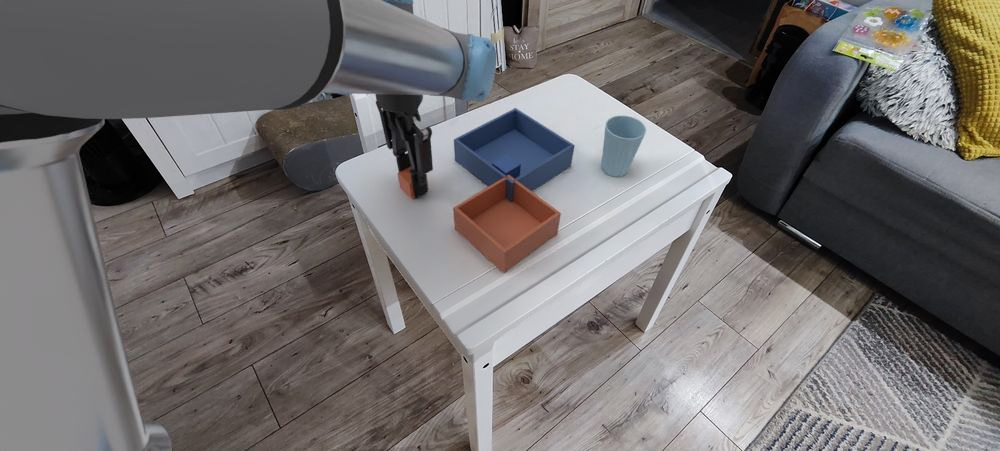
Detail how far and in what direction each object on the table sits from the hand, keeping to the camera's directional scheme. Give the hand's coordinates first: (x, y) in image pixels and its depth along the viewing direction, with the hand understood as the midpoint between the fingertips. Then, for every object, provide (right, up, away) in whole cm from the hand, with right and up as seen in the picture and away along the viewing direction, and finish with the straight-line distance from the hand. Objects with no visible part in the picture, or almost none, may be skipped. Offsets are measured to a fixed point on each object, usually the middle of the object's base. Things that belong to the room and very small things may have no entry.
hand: (414, 187), depth 89 cm
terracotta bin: (+18, -8, -7) cm, 21 cm away
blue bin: (+20, +6, +6) cm, 21 cm away
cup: (+41, +4, +6) cm, 41 cm away
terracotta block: (0, 0, 0) cm, 0 cm away
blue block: (+18, +2, +2) cm, 18 cm away
